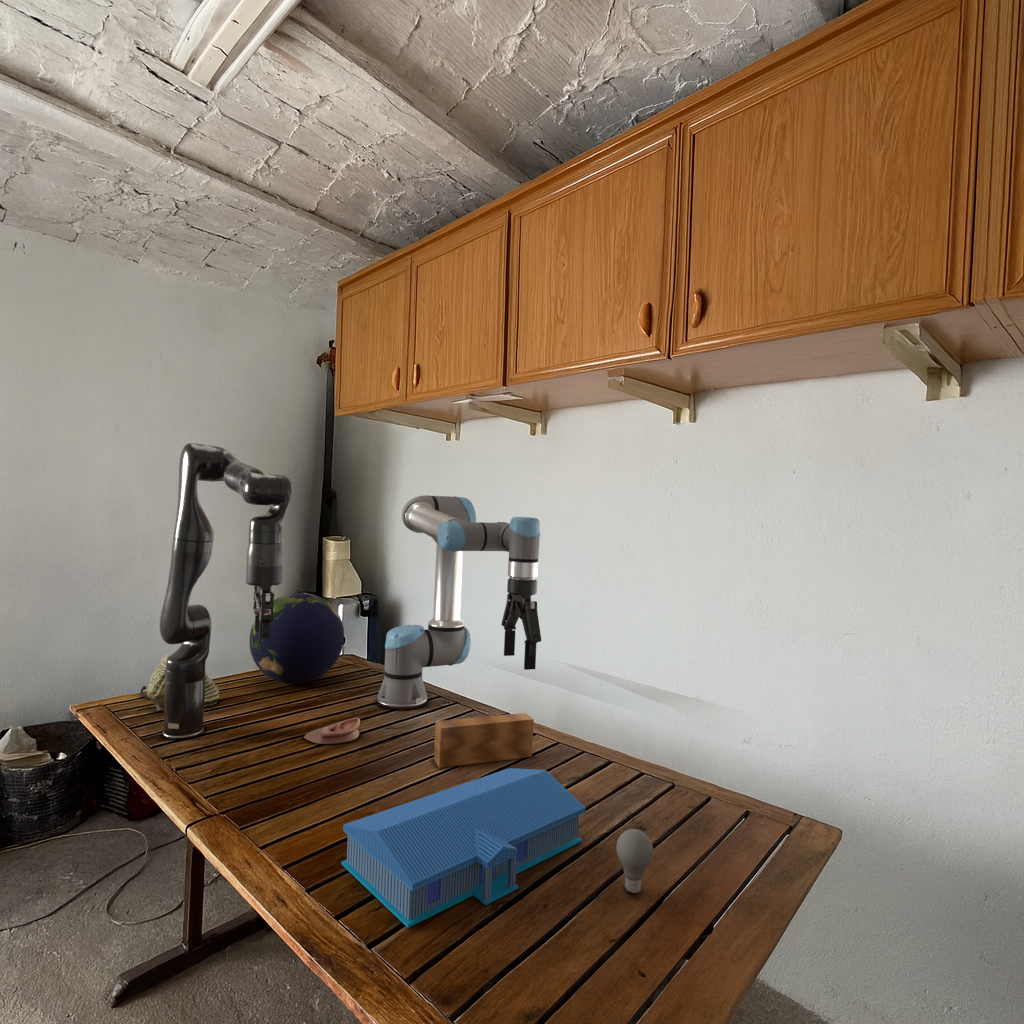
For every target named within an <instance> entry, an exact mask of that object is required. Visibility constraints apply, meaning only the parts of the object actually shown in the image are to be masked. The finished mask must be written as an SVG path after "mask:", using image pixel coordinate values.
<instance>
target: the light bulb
mask: <svg viewBox="0 0 1024 1024" xmlns="http://www.w3.org/2000/svg"><path fill="white" fill-rule="evenodd" d="M615 849H616V854H617V857H618V859H619V861H620V863H621V865H622V867H623V873H624V874H623V875H624V876H625V878H624V888H625V890H627V891H628V892H630V893H634V894H635V893H639V892H640V891H641V889H642V887H641V886H642V879H643V877H644V875H645V871H646V868H647V867H648V866H649V864H650V863H651V861H652V859H653V855H654V847H653V843H652V841H651V838H649V836H648V835H647V834H646V833H645V832H643V831H642V830H641V829H636V828H629V829H627V830H625V831H623V832H622V833H621V834H620V835H619V837H618V839H617V841H616V847H615Z"/></svg>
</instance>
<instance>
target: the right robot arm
mask: <svg viewBox="0 0 1024 1024" xmlns="http://www.w3.org/2000/svg"><path fill="white" fill-rule="evenodd" d="M475 509H476V508H475V506H474V504H473V503H472V501H471V500H470V499H469V498H467V497H464V496H463V497H462V496H455V495H454V496H450V495H447V496H446V495H445V496H444V495H427V494H426V495H425V494H424V495H419V496H415V497H413V498H411V499H410V500H408V501H406V503H405V505H404V506H403V507H402V511H401V521H402V524H403V525H404V526H405V528H406V529H408V530H409V531H412V532H413V533H415V534H425V535H427V536H429V537H431V538H432V540H433V541H434V542H435V544H436V546H435V547H436V548H435V567H434V568H435V571H434V573H435V574H434V592H433V593H434V594H433V595H434V596H433V616H432V618H431V619H430V620H429V621H428V624H427V629H425V628H424V626H423V625H421V624H405V625H400V626H396V627H393V628H391V629H390V630H389V631H387V633H386V637H385V643H384V674H383V675H384V676H383V680H382V682H381V686H380V687H379V691H378V692H377V693H378V694H377V698H376V703H377V705H378V706H379V707H381V708H384V709H388V710H397V711H398V710H399V711H400V710H402V711H404V710H405V711H406V710H413V709H419V708H421V707H423V706H425V705H426V704H427V702H428V694H427V691H426V685H425V684H424V680H423V668H431V667H432V668H433V667H442V666H449V667H450V666H451V667H452V666H453V665H460V664H462V663H464V662H465V661H466V659H467V658H468V657H469V654H470V652H471V647H472V646H471V645H472V638H471V633H470V630H469V629H468V628H467V627H465V626H466V625H465V622H464V621H463V620H462V619H461V610H462V609H461V607H462V586H463V585H462V583H463V563H464V562H463V561H464V552H506V553H508V562H507V576H508V579H507V584H506V585H507V586H506V587H507V588H506V591H507V595H506V603H505V607H504V610H503V615H502V620H501V627H503V630H504V640H503V641H504V643H503V656H504V657H511V656H515V653H516V652H515V651H516V650H515V648H516V630H517V627H516V626H517V623H518V621H519V619H520V620H521V622H522V626H523V631H524V635H525V640H524V655H523V656H524V659H523V669H524V670H525V671H528V670H529V671H531V670H536V667H537V666H536V665H537V645H538V643H540V642H542V633H541V628H540V621H539V620H540V619H539V613H538V602H537V601H536V600H532V596H535V595H536V594H537V593H538V580H537V578H538V576H539V575H538V574H539V571H538V570H539V569H540V565H539V557H540V556H539V555H540V538H541V537H540V536H541V531H540V530H541V529H540V527H541V526H540V520H539V519H538V518H537V517H529V516H513V517H511V519H510V522H506V521H496V522H486V521H485V522H484V521H483V522H477V514H476V510H475Z"/></svg>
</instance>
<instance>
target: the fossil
mask: <svg viewBox="0 0 1024 1024" xmlns="http://www.w3.org/2000/svg"><path fill="white" fill-rule="evenodd" d="M170 655H171V654H165V655H164V656H163V657H162V658H161V659H160V660H159V662H158V663H157V666H156V667H155V669H154V670H153V672H152V675H151V677H150V680H149V684H148V688H147V694H146V695H148V697H149V698H148V699H149V700H150V701H152V703H153V704H154V706H155V711H158V712H159V711H162V712H163V711H164V705H165V674H166V660H167V658H168V657H169V656H170ZM220 698H221V696H220V690H219V688H218V686H217V685H216V683H215V682H214V681H213V679H212V678H211V677H209V675H208V674H207V672H206V671H205V693H204V707H207V706H213V705H215V704H217V703H218V701H219V699H220Z"/></svg>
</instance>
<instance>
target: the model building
mask: <svg viewBox="0 0 1024 1024" xmlns="http://www.w3.org/2000/svg"><path fill="white" fill-rule="evenodd" d="M584 814H586V806H585V805H584V804H582V802H580V801H579V799H577V798H576V797H575V796H574V795H573V794H572V793H571V792H570V791H569V790H568V789H567V788H566V787H565V786H563V785H562V784H561V783H560V781H558V780H557V779H556V778H555V777H554V776H553V775H552V774H551V773H550V772H549V771H548V770H547V769H536V768H534V769H531V768H513V767H512V768H511V767H509V768H505V769H503V770H500V771H497V772H494V773H491V774H488V775H485V776H481V777H479V778H477V779H473V780H471V781H467V782H464V783H461V784H459V785H455V786H453V787H450V788H447V789H444V790H441V791H438V792H436V793H432V794H430V795H427V796H423V797H421V798H418V799H415V800H412V801H409V802H406V803H403V804H399V805H397V806H393V807H391V808H388V809H386V810H382V811H380V812H377V813H374V814H371V815H368V816H364V817H362V818H359V819H356V820H353V821H350V822H348V823H344V824H343V825H342V831H343V832H344V833H345V834H346V835H347V842H346V843H347V845H346V846H347V847H346V859H344V860H342V861H341V865H342V866H343V867H344V868H345V869H346V870H347V871H348V872H349V873H350V874H351V875H352V876H353V877H354V878H355V879H356V880H357V881H358V882H359V883H360V884H361V885H362V886H363V887H365V888H366V889H367V891H369V892H370V893H371V894H372V895H373V896H374V898H376V899H377V900H378V901H379V902H380V903H381V904H382V905H383V906H384V907H385V908H386V909H387V910H388V911H390V912H391V913H392V914H393V916H395V917H396V918H397V919H398V920H399V921H400V922H401V923H402V924H403V925H404V926H405V927H406V928H407V929H409V928H411V927H413V926H415V925H417V924H419V923H421V922H423V921H426V920H427V919H429V918H432V917H433V916H435V915H437V914H439V913H441V912H443V911H445V910H447V909H450V908H452V907H453V906H455V905H457V904H459V903H462V902H463V901H466V900H467V899H469V898H471V897H475V898H476V899H477V900H478V901H479V902H481V903H482V904H483V905H484V906H488V905H490V904H491V903H494V902H495V901H497V900H499V899H501V898H503V897H505V896H507V895H509V894H510V893H513V892H514V891H517V890H519V884H518V883H517V875H518V874H519V873H522V872H524V871H525V870H528V869H529V868H531V867H534V866H536V865H538V864H539V863H540V864H541V863H542V862H543V861H545V860H548V859H550V858H552V857H554V856H556V855H558V854H559V853H562V852H564V851H566V850H568V849H571V847H574V846H576V845H578V844H580V843H582V842H583V838H581V837H579V818H580V816H581V815H584Z"/></svg>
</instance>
